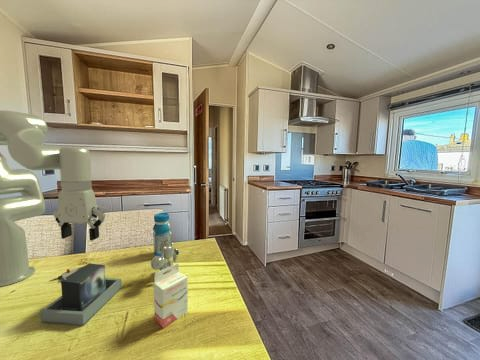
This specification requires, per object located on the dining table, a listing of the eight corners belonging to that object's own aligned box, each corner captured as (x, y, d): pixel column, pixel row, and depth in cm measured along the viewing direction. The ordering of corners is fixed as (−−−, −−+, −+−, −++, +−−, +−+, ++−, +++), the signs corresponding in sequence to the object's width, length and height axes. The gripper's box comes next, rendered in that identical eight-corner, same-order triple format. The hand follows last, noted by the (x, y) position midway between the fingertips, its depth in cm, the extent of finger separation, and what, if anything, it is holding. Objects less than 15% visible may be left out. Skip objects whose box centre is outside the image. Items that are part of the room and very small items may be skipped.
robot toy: (161, 290, 74) (160, 250, 72) (147, 287, 76) (145, 248, 74) (183, 269, 88) (182, 235, 87) (170, 266, 90) (169, 233, 88)
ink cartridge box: (163, 329, 58) (161, 280, 56) (154, 320, 61) (152, 273, 59) (188, 311, 64) (187, 267, 62) (179, 304, 67) (178, 261, 66)
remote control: (101, 270, 88) (101, 263, 87) (52, 289, 75) (51, 281, 75) (96, 265, 92) (95, 258, 91) (48, 282, 80) (48, 274, 79)
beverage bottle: (161, 260, 96) (159, 218, 93) (150, 255, 100) (148, 215, 98) (175, 252, 103) (174, 213, 101) (164, 248, 107) (163, 211, 105)
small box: (81, 315, 62) (78, 282, 61) (61, 313, 62) (58, 280, 61) (107, 292, 72) (105, 263, 71) (90, 290, 73) (88, 262, 72)
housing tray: (41, 322, 60) (39, 311, 59) (88, 285, 76) (87, 277, 76) (83, 325, 59) (82, 314, 58) (121, 287, 75) (121, 278, 75)
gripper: (39, 187, 63) (44, 241, 65) (93, 189, 61) (96, 244, 63) (63, 183, 70) (66, 232, 72) (111, 185, 69) (113, 235, 71)
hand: (80, 237), depth 68 cm, fingers open, 9 cm apart
